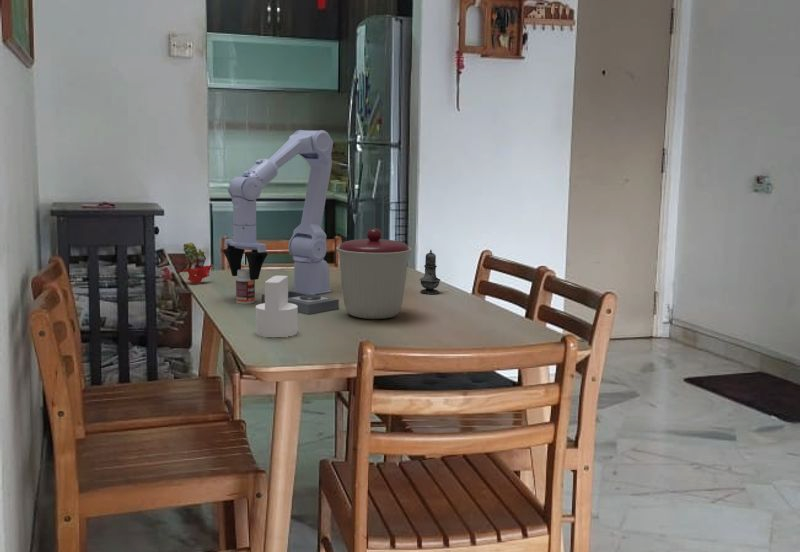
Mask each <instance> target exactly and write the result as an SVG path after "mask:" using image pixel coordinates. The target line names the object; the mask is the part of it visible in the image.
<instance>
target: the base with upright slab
mask: <svg viewBox="0 0 800 552" xmlns="http://www.w3.org/2000/svg"><path fill="white" fill-rule="evenodd" d="M288 290H289V276H288V275H273V276H272V277H270V278H269V279H267V280H266V281H265V282H264V294H265V303H263V304H262V303H259V304H256V305H255V334H257V335H256V336H258V335H260V336H259V337H261V336H264V337H263V338H266V337H286V338H289V337H288V336H292V335H295V334H297V335H298V333H297V332H299V331H298V323H299V321H298V320H299V319H298V317H299V316H298V315H299V314H298V313H299V312H298V306H297V305H295V304H292V303H288ZM295 336H296V335H295ZM292 337H293V336H292Z"/></svg>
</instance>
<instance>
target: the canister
mask: <svg viewBox="0 0 800 552" xmlns="http://www.w3.org/2000/svg"><path fill="white" fill-rule="evenodd" d="M382 234H383V233H382V231H381V230H380V229H379V228H369V229H368V230H367V232H366V237H367V238H360V239H350V240H347V241H344V242H342V243H341V244H340V245H337V246H336V247H335V250H336V251H337V252H338V256H339V257H338V258H339V267H340V278H341V279H340V280H341V288H342V296H343V304H344V307H345V310H346V312H347V313H348V314H349V315H351V316H352V317H355V318H358V319H359V318H360V319H366V320H381V319H382V320H383V319H384V320H385V319H389V318H393V317H395V316H397V315H398V314H399V312H401V309H402V306H403V301H404V300H403V299H404V295H405V294H404V293H405V286H406V280H407V271H408V264H409V256H410V253H411V252H412V251H413V249H412V247H410V246H408V245H407V244H406V243H405V242H402V241H399V240H393V239H387V238H386V239H384V238H382Z"/></svg>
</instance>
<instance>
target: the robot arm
mask: <svg viewBox="0 0 800 552" xmlns="http://www.w3.org/2000/svg"><path fill="white" fill-rule="evenodd" d="M333 145H334V141H333V139H332V138H331V136H330V134H329V132H327V131H326V130H323V129H320V130H305V129H304V130H303V129H299V130H296V131H295V132H294V133H292V134H291V135H290V136H289V138H288V140H287V141H286V142H284V144H283V145H282V146H281V147H280V148H279V149H278V150H277V151H276V152H275V153H274V154H273V155H272V156H270V158H269V157H268V158H261V159H260V158H258V159H257V160H256V161H255V164H254V165H252V166H251V168H249V169H248V170H245V171H243V172H242V176H235V177H234V178H232V180H231V182H230V183H229V186H228V187H227V192H228V195H229V197H230V198H231V204H232V212H233V213H232V214H233V215H232V216H233V217H232V218H233V219H232V220H233V221H232V222H233V223H232V225H233V229H232V231H233V238H226V239H224V247H226V248H224V249H222V253H223V254H224V256H225V258H226V260H227V263H228V265H229V269H230V272H231V276H232V277H238V276H237V270H240V269H242V260H243V256H244V255H245V257H246V260H247V264H248V269H249V274H250V279H251V280H255V281H256V280H259V278H260V274H261V270H262V267H263V265H264V262H265V260H266V258H267V256H268V252H267V244H265V243H262V242H259V241H257V199H259V197H260V196H261V194H262V190H263V189H264V188H265V186H268V184H269V183H271V182H272V181H273V180H274V179H275V178H276V177H277V176H278V172H279V171H278V170H279V169H281V167H283V166H284V165H285V164H287V163H288V162H289V161H291V160H292V159H293V158H296V156H298V155H299V156H301V158H303V159H304V160H305V161H306V162H307V164H308V165H309V166H310V169H309V170H310V171H309V177H308V182H307V188H306V191H305V192H306V193H305V199H304V204H303V205H304V206H303V209H302V214H301V215H302V216H301V221H300V224H299V225H298V226H296V228H295V229H293V232H292V236H291V238H290V239H289V241H288V244H287V245H288V246H287V247H288V253H289V255H290V256H292V261H294V262H293V263H294V264H293V276H294V277H293V279H294V280H293V281H294V282H293V287H294V288H293V289H292V290H296V291H300V292H305V293H310V294H315V295H320V294H325V293H327V294H328V293H332V289H330V266H329V264H328V262H327V261H326V260H324V257H325V256H326V254H327V252H328V251H327V249H328V246H327V234H326V233H325V231H324V230H323V229H322V222H323V217H324V212H325V206H326V201H327V200H326V199H327V194H328V190H329V182H330V177H331V172H332V166H333V165H332V164H333V160H332V152H333ZM245 250H246V252H245ZM244 252H245V253H244Z"/></svg>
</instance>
